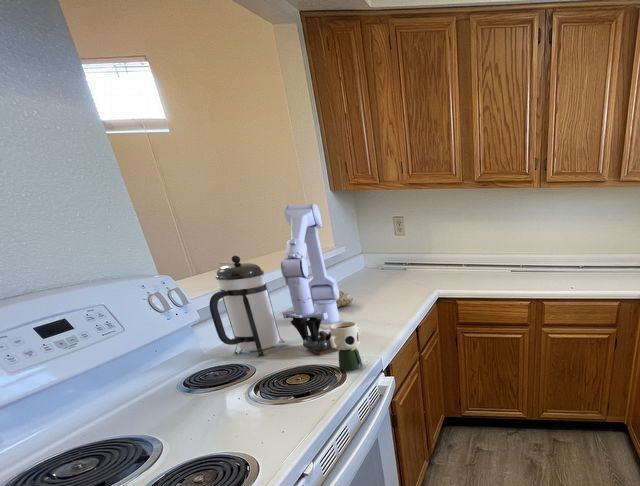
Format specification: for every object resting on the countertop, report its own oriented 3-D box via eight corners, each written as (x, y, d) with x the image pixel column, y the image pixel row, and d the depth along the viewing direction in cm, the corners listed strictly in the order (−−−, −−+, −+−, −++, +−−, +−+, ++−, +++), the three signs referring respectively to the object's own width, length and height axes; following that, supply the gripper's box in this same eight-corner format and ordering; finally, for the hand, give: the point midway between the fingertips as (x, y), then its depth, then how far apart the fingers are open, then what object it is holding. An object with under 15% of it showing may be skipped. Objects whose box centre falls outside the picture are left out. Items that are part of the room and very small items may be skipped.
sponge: (339, 305, 193) (299, 306, 176) (341, 289, 190) (301, 288, 173) (358, 314, 187) (318, 316, 170) (360, 297, 184) (320, 297, 168)
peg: (307, 350, 135) (303, 332, 132) (330, 343, 140) (327, 326, 138) (319, 355, 130) (315, 337, 127) (342, 348, 135) (339, 330, 133)
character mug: (348, 377, 114) (339, 332, 108) (328, 373, 116) (318, 329, 111) (373, 363, 123) (366, 320, 117) (354, 360, 125) (346, 318, 120)
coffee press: (234, 346, 139) (206, 255, 127) (287, 339, 145) (264, 250, 133) (226, 364, 125) (193, 262, 113) (285, 355, 130) (259, 257, 118)
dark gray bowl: (297, 345, 134) (295, 337, 133) (331, 336, 142) (330, 328, 141) (315, 354, 127) (313, 345, 125) (350, 343, 135) (349, 335, 134)
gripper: (272, 301, 127) (282, 343, 132) (314, 302, 124) (323, 345, 130) (287, 295, 133) (297, 336, 139) (328, 296, 130) (336, 337, 136)
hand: (310, 340), depth 135 cm, fingers closed on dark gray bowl, 3 cm apart
